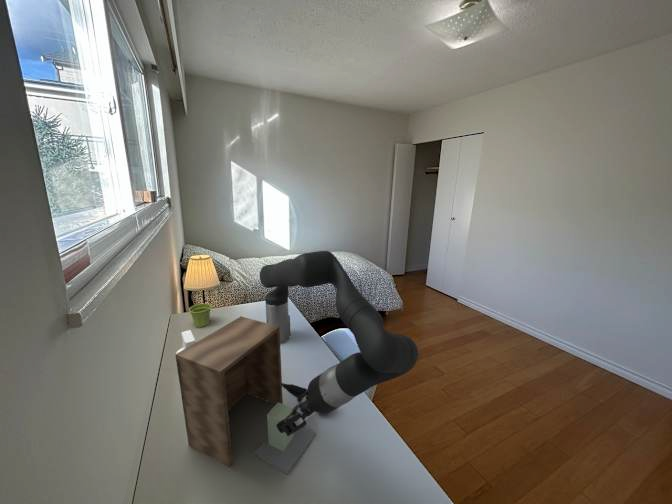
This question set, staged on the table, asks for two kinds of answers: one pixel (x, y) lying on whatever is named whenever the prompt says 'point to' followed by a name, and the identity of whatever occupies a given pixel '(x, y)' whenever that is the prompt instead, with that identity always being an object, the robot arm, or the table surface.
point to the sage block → (274, 434)
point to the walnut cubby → (227, 380)
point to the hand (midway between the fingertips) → (290, 414)
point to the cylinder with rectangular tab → (186, 340)
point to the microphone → (295, 389)
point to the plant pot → (200, 314)
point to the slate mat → (287, 450)
